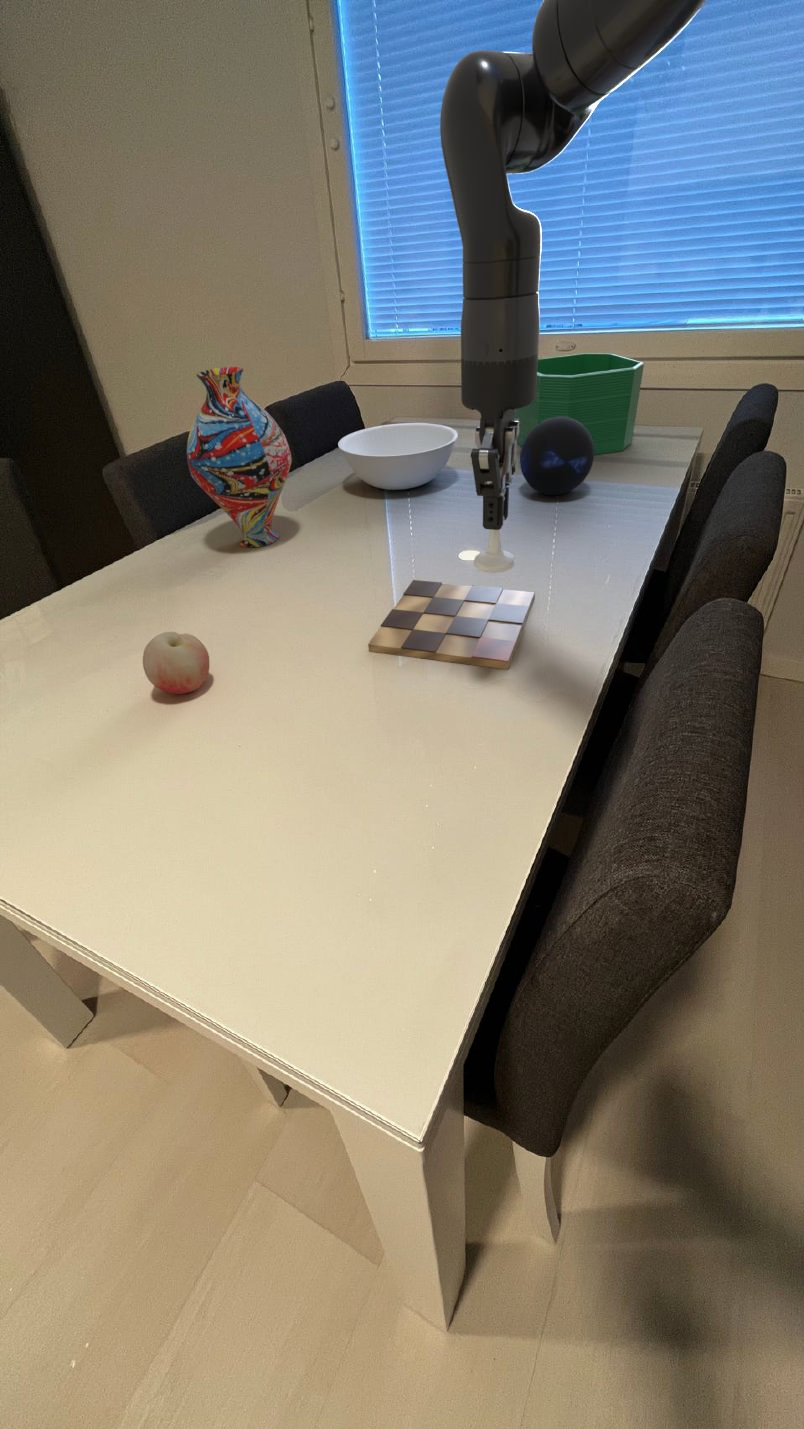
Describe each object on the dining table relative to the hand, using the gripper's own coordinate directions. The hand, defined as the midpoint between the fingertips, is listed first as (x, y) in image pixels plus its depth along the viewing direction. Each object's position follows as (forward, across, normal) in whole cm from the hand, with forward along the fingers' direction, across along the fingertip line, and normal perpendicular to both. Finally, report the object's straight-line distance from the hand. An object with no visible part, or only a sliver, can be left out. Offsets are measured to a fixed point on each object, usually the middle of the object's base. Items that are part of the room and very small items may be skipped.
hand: (495, 523), depth 70 cm
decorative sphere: (+19, +66, +2) cm, 69 cm away
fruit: (+19, -16, +39) cm, 46 cm away
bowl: (+19, +69, +38) cm, 81 cm away
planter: (+19, +105, +3) cm, 107 cm away
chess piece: (+5, 0, 0) cm, 5 cm away
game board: (+19, +8, +8) cm, 22 cm away
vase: (+19, +33, +56) cm, 67 cm away
